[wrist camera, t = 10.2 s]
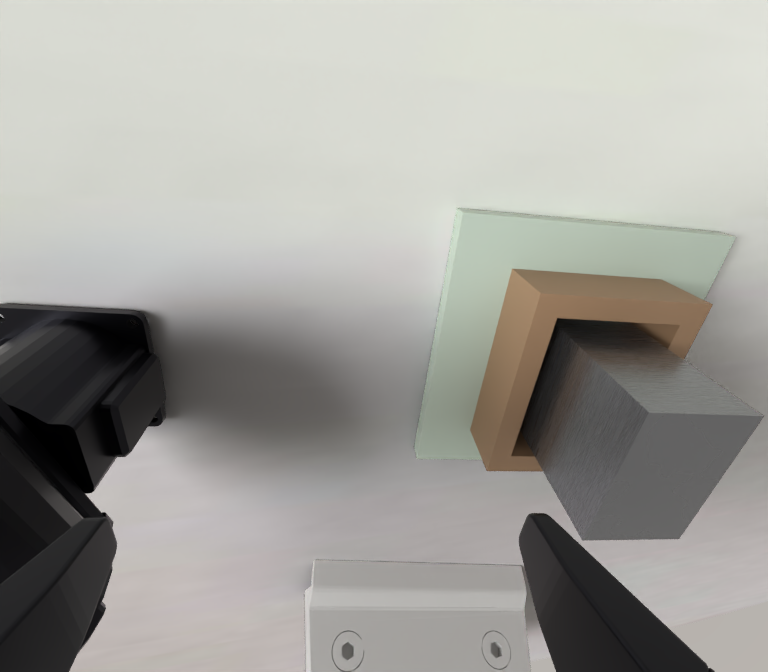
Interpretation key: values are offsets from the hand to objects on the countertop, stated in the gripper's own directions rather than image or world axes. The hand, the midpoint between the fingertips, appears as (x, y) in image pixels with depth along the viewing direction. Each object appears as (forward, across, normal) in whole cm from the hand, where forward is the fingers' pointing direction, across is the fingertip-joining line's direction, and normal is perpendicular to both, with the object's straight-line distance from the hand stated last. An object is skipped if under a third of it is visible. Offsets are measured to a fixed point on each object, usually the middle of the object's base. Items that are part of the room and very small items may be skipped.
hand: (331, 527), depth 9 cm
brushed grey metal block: (+11, -11, +2) cm, 16 cm away
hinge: (+12, -7, +24) cm, 28 cm away
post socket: (+12, -12, +2) cm, 17 cm away
